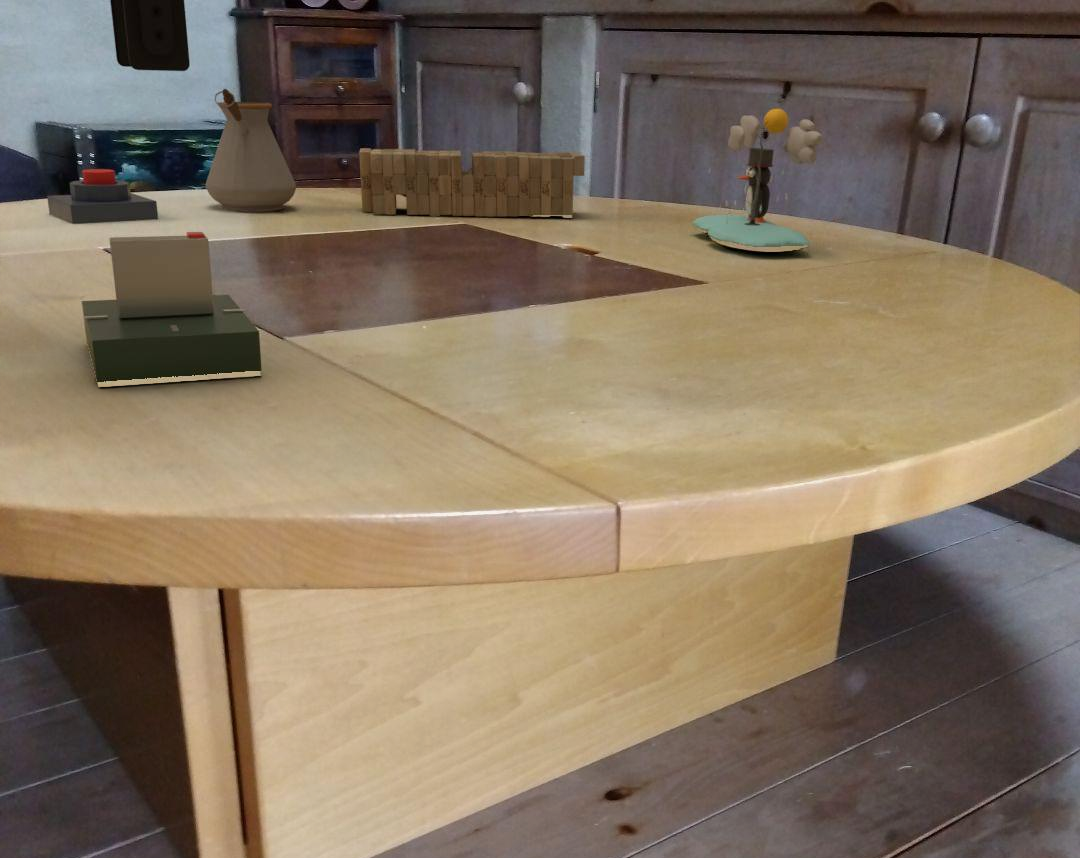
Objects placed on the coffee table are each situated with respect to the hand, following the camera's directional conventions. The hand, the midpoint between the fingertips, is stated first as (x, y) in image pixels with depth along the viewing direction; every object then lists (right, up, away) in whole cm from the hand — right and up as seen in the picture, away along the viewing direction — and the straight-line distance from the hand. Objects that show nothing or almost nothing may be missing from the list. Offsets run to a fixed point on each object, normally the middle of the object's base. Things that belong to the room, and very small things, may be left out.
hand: (151, 68), depth 67 cm
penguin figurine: (+48, +7, +66) cm, 82 cm away
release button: (-29, +14, +66) cm, 74 cm away
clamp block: (-2, -16, +9) cm, 18 cm away
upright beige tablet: (-2, -13, +7) cm, 15 cm away
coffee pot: (-14, +13, +75) cm, 78 cm away
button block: (-29, +10, +68) cm, 74 cm away
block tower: (+14, +15, +83) cm, 85 cm away
